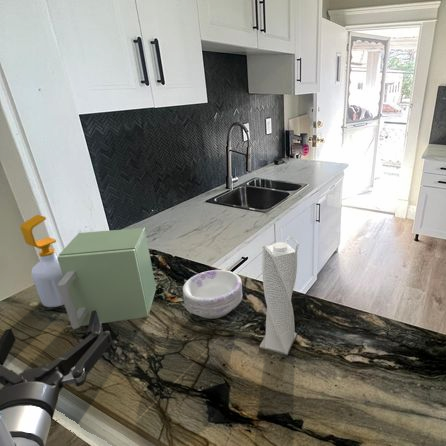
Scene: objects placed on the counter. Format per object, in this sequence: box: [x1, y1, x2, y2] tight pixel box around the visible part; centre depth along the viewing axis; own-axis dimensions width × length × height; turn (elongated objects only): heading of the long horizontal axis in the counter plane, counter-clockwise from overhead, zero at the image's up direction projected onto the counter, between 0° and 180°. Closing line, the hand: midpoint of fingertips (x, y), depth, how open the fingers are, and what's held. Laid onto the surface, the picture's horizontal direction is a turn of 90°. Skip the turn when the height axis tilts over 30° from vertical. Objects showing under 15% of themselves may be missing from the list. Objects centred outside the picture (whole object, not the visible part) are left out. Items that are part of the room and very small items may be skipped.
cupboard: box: [58, 227, 157, 315], centre depth 83 cm, size 12×16×20 cm
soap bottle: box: [20, 214, 65, 308], centre depth 84 cm, size 9×9×25 cm
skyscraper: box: [258, 236, 300, 356], centre depth 69 cm, size 8×8×28 cm
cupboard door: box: [57, 249, 150, 330], centre depth 74 cm, size 7×16×20 cm, turn 104°
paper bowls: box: [182, 269, 243, 320], centre depth 85 cm, size 15×15×8 cm
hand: (55, 324), depth 61 cm, fingers open, 13 cm apart
